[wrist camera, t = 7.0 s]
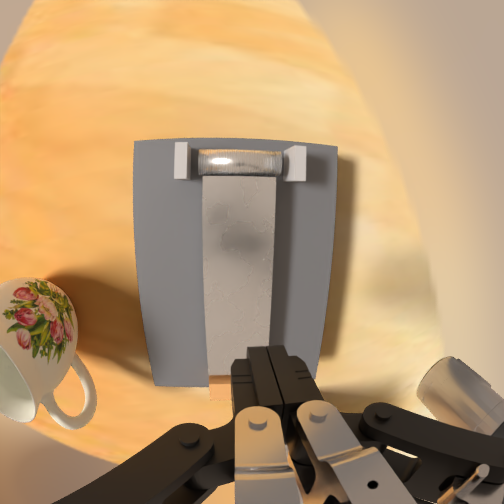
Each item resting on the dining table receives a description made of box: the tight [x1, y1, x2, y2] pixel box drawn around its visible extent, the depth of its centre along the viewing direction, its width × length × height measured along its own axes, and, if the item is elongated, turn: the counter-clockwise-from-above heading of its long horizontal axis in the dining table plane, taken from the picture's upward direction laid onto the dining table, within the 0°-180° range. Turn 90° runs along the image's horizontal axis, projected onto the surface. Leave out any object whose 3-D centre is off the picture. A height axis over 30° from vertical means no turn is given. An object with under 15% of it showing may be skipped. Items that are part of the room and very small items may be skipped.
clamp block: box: [133, 138, 338, 387], centre depth 22 cm, size 16×22×7 cm
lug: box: [209, 375, 232, 400], centre depth 23 cm, size 5×2×2 cm, turn 89°
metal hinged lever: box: [198, 149, 282, 375], centre depth 20 cm, size 6×18×2 cm, turn 179°
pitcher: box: [0, 278, 97, 430], centre depth 18 cm, size 11×18×14 cm, turn 36°
